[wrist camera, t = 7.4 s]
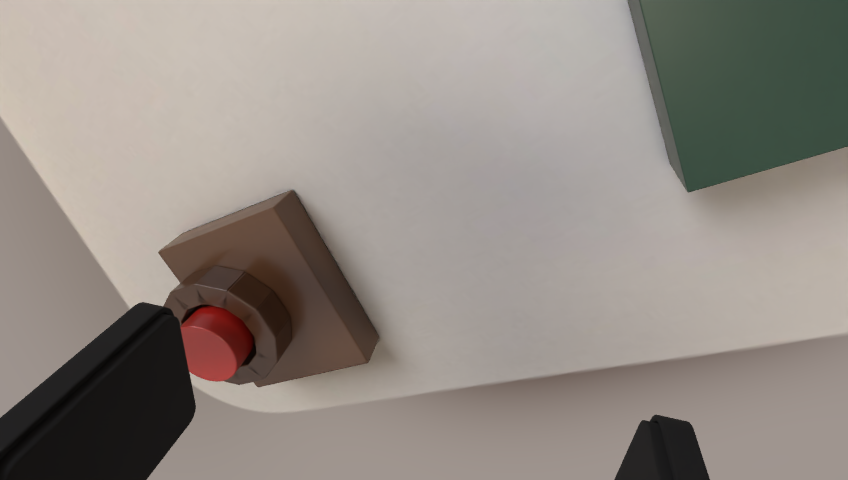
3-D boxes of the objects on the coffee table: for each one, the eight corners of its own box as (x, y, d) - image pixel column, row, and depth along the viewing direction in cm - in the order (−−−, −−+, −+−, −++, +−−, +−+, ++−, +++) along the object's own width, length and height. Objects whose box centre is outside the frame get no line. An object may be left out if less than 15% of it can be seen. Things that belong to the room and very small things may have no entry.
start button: (266, 351, 27) (250, 375, 25) (217, 364, 28) (198, 387, 26) (228, 298, 25) (209, 319, 24) (178, 314, 27) (156, 335, 25)
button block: (380, 337, 29) (358, 387, 26) (259, 366, 33) (225, 414, 29) (293, 188, 26) (254, 224, 22) (166, 239, 29) (116, 276, 26)
